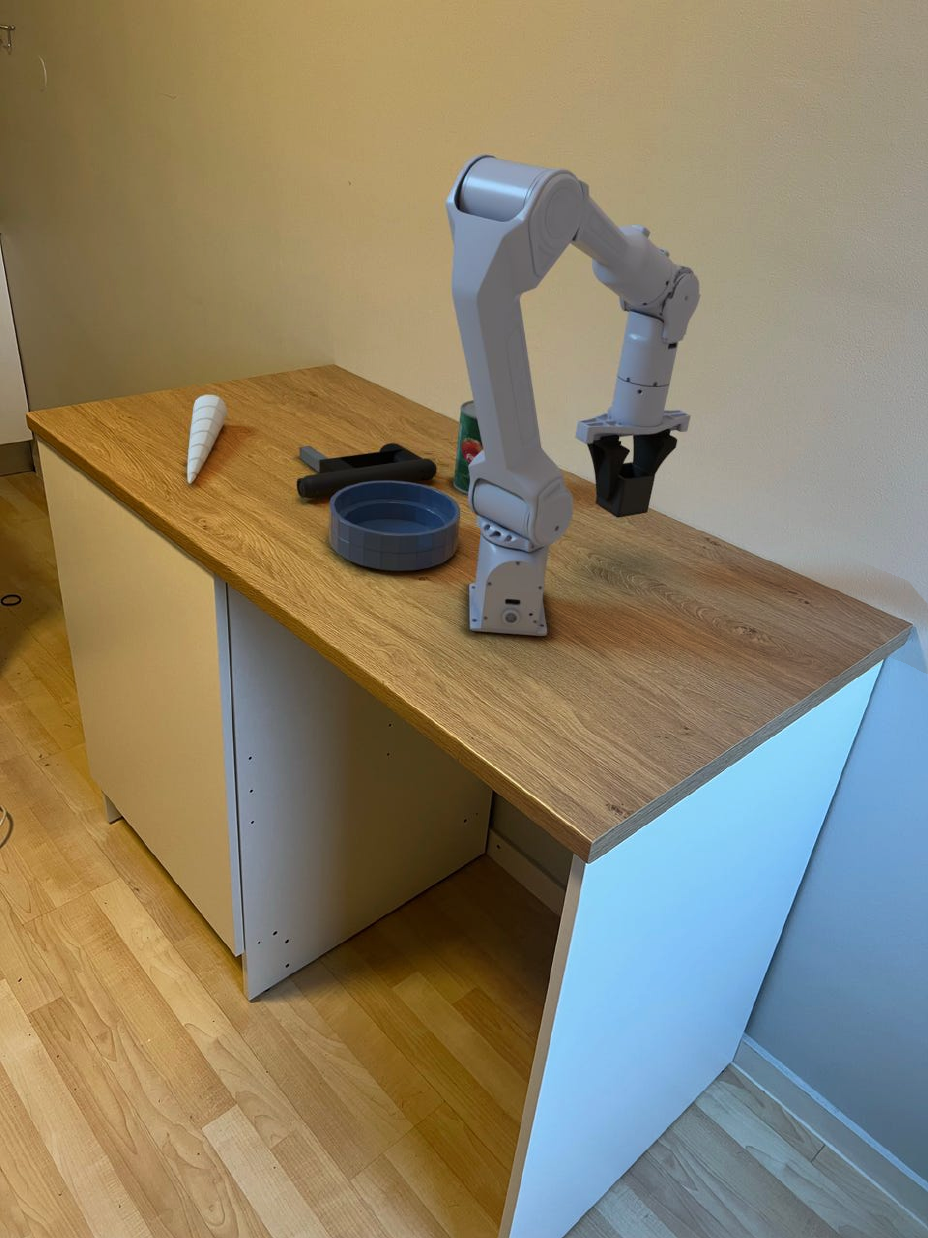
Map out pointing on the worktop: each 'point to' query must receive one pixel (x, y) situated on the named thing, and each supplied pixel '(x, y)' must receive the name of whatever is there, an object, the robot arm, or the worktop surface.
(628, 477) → the scoop
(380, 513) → the bowl
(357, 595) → the worktop surface
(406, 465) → the door handle
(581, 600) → the worktop surface
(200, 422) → the unicorn horn
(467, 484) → the canned tomato
